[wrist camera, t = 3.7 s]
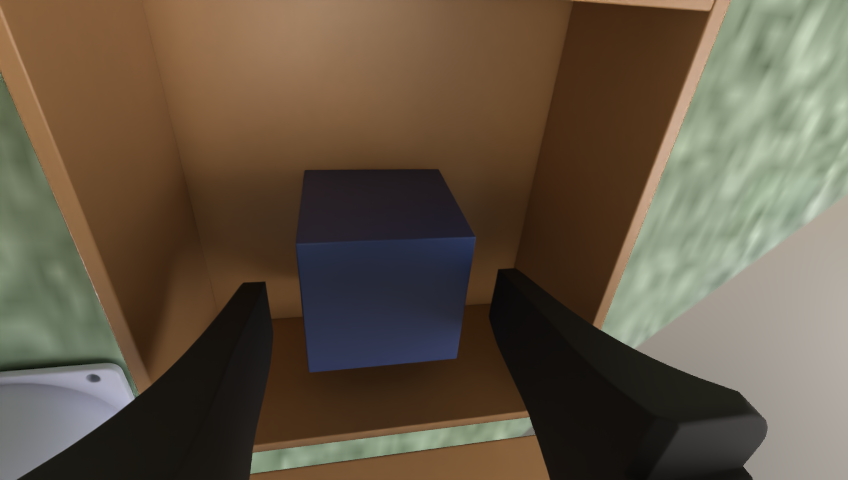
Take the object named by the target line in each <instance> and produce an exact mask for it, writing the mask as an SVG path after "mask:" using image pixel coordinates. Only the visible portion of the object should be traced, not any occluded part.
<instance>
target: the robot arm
mask: <svg viewBox="0 0 848 480" xmlns="http://www.w3.org/2000/svg"><path fill="white" fill-rule="evenodd" d="M489 320H490V323H491V327H492V330H493V334H494V337H495V340H496V343H497V345H498V348H499V350H500V352H501V354H502V357H503V359H504V361H505V363H506V365H507V368H508V370H509V372H510V374H511V376H512V378H513V380H514V383H515V385H516V387H517V389H518V391H519V393H520V396H521V398H522V400H523V402H524V404H525V407H526V409H527V412H528V414H529V417H530V420H531V423H532V425H533V428H534V430H535V434H536V437H537V440H538V443H539V446H540V449H541V452H542V456H543V459H544V462H545V465H546V468H547V471H548V475H549V478H550V480H753V479H752V477H751V475H749V473H748V472H747V471H746V469H745V468H744V467H743V465H744V464H745V463H746V461H747V460H748V459H749V458H750V457H751V455H752V454H753V453H754V452H755V451H756V449H757V448H758V447H759V446H760V445H761V443H762V442H763V440H764V439H765V437H766V433H767V428H768V427H767V423H766V420H765V419H764V418H763V417H762V416H761V415H760V414H759V413H758V412H757V410H756V409H755V408H754V407H753V406H752V405H751V404H750V403H749V402H748V401H747V400H746V399H745V398H744V397H743V396H742V395H741V394H740V393H739V392H738V391H735V390H732V389H729V388H726V387H724V386H721V385H718V384H715V383H712V382H709V381H706V380H703V379H700V378H698V377H695V376H693V375H690V374H688V373H685V372H683V371H680V370H678V369H676V368H673V367H671V366H668V365H666V364H664V363H662V362H660V361H657V360H655V359H653V358H651V357H649V356H647V355H645V354H643V353H641V352H639V351H637V350H635V349H633V348H631V347H629V346H627V345H625V344H624V343H622V342H620V341H618V340H617V339H615V338H613V337H611V336H610V335H608V334H606V333H605V332H603V331H601V330H600V329H598V328H596V327H595V326H593V325H592V324H590V323H589V322H587V321H586V320H584V319H583V318H581V317H580V316H578V315H577V314H576V313H574V312H573V311H571V310H570V309H569V308H567V307H566V306H565V305H563V304H562V303H560V302H559V301H558V300H557V299H555V298H554V297H553V296H551V295H550V294H549V293H547V292H546V291H545V290H544V289H542V288H541V287H540V286H539V285H537V284H536V283H535V282H534V281H532V280H531V279H530V278H528V277H527V276H526V275H525V274H523V273H522V272H521V271H519V270H518V269H516V268H508V269H498V272H497V277H496V282H495V287H494V292H493V297H492V302H491V307H490V312H489ZM272 345H273V326H272V320H271V314H270V307H269V301H268V295H267V288H266V282H265V281H262V282H243V283H242V284H241V285H240V286H239V288H238V289H237V290H236V292H235V293H234V294H233V296H232V297H231V299H230V300H229V301H228V303H227V304H226V305H225V306H224V308H223V309H222V310H221V312H220V313H219V314H218V315H217V317H216V318H215V319H214V320H213V321H212V323H211V324H210V325H209V326H208V327H207V329H206V330H205V331H204V332H203V333H202V334H201V336H200V337H199V338H198V339H197V340H196V341H195V342H194V343H193V344H192V345H191V346H190V348H189V349H188V350H187V351H186V352H185V353H184V354H183V355H182V356H181V357H180V358H179V359H178V360H177V361H176V362H175V363H174V364H173V365H172V366H171V367H170V368H169V369H168V370H167V371H166V372H165V373H164V374H163V375H162V376H161V377H160V378H158V379H157V380H156V381H155V382H154V383H153V384H152V385H151V386H150V387H148V388H147V389H146V390H145V391H144V392H142V393H141V394H140V395H139V396H138V397H136V398H135V397H134V395H133V393H132V391H131V388H130V386H129V384H128V382H127V379H126V377H125V375H124V373H123V370H122V369H121V368H120V366H118V365H116V364H113V363H100V364H88V365H76V366H64V367H53V368H41V369H29V370H17V371H5V372H0V480H249V478H250V470H251V461H252V452H253V446H254V440H255V434H256V430H257V425H258V421H259V416H260V411H261V407H262V402H263V398H264V393H265V389H266V384H267V379H268V375H269V370H270V365H271V356H272ZM94 374H95V375H94Z"/></svg>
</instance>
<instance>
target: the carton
mask: <svg viewBox="0 0 848 480" xmlns="http://www.w3.org/2000/svg"><path fill="white" fill-rule="evenodd" d="M730 2H731V0H0V72H1V74H2V76H3V79H4V81H5V83H6V85H7V88H8V90H9V92H10V95H11V97H12V99H13V102H14V104H15V106H16V109H17V111H18V113H19V116H20V118H21V120H22V123H23V125H24V127H25V130H26V132H27V134H28V137H29V139H30V141H31V144H32V146H33V148H34V151H35V153H36V155H37V158H38V160H39V162H40V164H41V167H42V169H43V171H44V174H45V176H46V178H47V181H48V183H49V185H50V188H51V190H52V192H53V195H54V197H55V199H56V202H57V204H58V206H59V209H60V211H61V213H62V216H63V218H64V220H65V223H66V225H67V227H68V230H69V232H70V234H71V237H72V239H73V241H74V243H75V246H76V248H77V250H78V253H79V255H80V257H81V260H82V262H83V264H84V267H85V269H86V271H87V274H88V276H89V278H90V281H91V283H92V285H93V288H94V290H95V292H96V295H97V297H98V299H99V302H100V304H101V306H102V309H103V311H104V313H105V316H106V318H107V320H108V322H109V325H110V327H111V329H112V332H113V334H114V336H115V339H116V341H117V343H118V346H119V348H120V350H121V353H122V355H123V357H124V360H125V362H126V364H127V367H128V369H129V371H130V374H131V376H132V378H133V381H134V383H135V385H136V388H137V390H138V392H139V395H140V394H141V393H142V392H144V391H145V390H146V389H147V388H148V387H150V386H151V385H152V384H153V383H154V382H155V381H156V380H157V379H158V378H160V377H161V376H162V375H163V374H164V373H165V372H166V371H167V370H168V369H169V368H170V367H171V366H172V365H173V364H174V363H175V362H176V361H177V360H178V359H179V358H180V357H181V356H182V355H183V354H184V353H185V352H186V351H187V350H188V349H189V348H190V346H191V345H192V344H193V343H194V342H195V341H196V340H197V339H198V338H199V337H200V336H201V334H202V333H203V332H204V331H205V330H206V329H207V327H208V326H209V325H210V324H211V323H212V321H213V320H214V319H215V318H216V317H217V315H218V314H219V313H220V312H221V310H222V309H223V308H224V306H225V305H226V304H227V303H228V301H229V300H230V299H231V297H232V296H233V294H234V293H235V292H236V290H237V289H238V288H239V286H240V285H241V284H242V283H243V282H262V281H265V282H266V288H267V295H268V301H269V307H270V314H271V320H272V326H273V345H272V356H271V365H270V370H269V375H268V379H267V384H266V389H265V393H264V398H263V402H262V407H261V411H260V416H259V421H258V425H257V430H256V434H255V440H254V446H253V452H252V453H254V452H262V451H270V450H277V449H285V448H293V447H301V446H309V445H316V444H324V443H332V442H340V441H347V440H355V439H363V438H371V437H379V436H386V435H394V434H402V433H410V432H417V431H425V430H433V429H441V428H449V427H456V426H464V425H472V424H480V423H488V422H495V421H503V420H511V419H519V418H526V417H529V414H528V412H527V409H526V407H525V404H524V402H523V400H522V398H521V396H520V393H519V391H518V389H517V387H516V385H515V383H514V380H513V378H512V376H511V374H510V372H509V370H508V368H507V365H506V363H505V361H504V359H503V357H502V354H501V352H500V350H499V348H498V345H497V343H496V340H495V337H494V334H493V330H492V327H491V323H490V320H489V312H490V307H491V302H492V297H493V292H494V287H495V282H496V277H497V272H498V269H508V268H516V269H518V270H519V271H521V272H522V273H523V274H525V275H526V276H527V277H528V278H530V279H531V280H532V281H534V282H535V283H536V284H537V285H539V286H540V287H541V288H542V289H544V290H545V291H546V292H547V293H549V294H550V295H551V296H553V297H554V298H555V299H557V300H558V301H559V302H560V303H562V304H563V305H565V306H566V307H567V308H569V309H570V310H571V311H573V312H574V313H576V314H577V315H578V316H580V317H581V318H583V319H584V320H586V321H587V322H589V323H590V324H592V325H593V326H595V327H596V328H598V329H600V330H601V328H602V325H603V323H604V320H605V317H606V315H607V312H608V310H609V307H610V305H611V302H612V300H613V297H614V295H615V292H616V290H617V287H618V285H619V282H620V280H621V277H622V274H623V272H624V269H625V267H626V264H627V262H628V259H629V257H630V254H631V252H632V249H633V247H634V244H635V242H636V239H637V237H638V234H639V232H640V229H641V226H642V224H643V221H644V219H645V216H646V214H647V211H648V209H649V206H650V204H651V201H652V199H653V196H654V194H655V191H656V189H657V186H658V184H659V181H660V178H661V176H662V173H663V171H664V168H665V166H666V163H667V161H668V158H669V156H670V153H671V151H672V148H673V146H674V143H675V141H676V138H677V136H678V133H679V130H680V128H681V125H682V123H683V120H684V118H685V115H686V113H687V110H688V108H689V105H690V103H691V100H692V98H693V95H694V93H695V90H696V88H697V85H698V82H699V80H700V77H701V75H702V72H703V70H704V67H705V65H706V62H707V60H708V57H709V55H710V52H711V50H712V47H713V45H714V42H715V39H716V37H717V34H718V32H719V29H720V27H721V24H722V22H723V19H724V17H725V14H726V12H727V9H728V7H729V4H730ZM387 169H439V171H440V172H441V174H442V176H443V178H444V180H445V182H446V183H447V185H448V187H449V189H450V191H451V193H452V194H453V196H454V198H455V200H456V202H457V203H458V205H459V207H460V209H461V211H462V213H463V214H464V216H465V218H466V220H467V222H468V224H469V225H470V227H471V229H472V231H473V233H474V235H475V236H476V239H475V246H474V252H473V258H472V264H471V271H470V277H469V283H468V289H467V296H466V302H465V308H464V314H463V321H462V327H461V333H460V339H459V346H458V352H457V358H456V359H446V360H435V361H425V362H414V363H404V364H393V365H383V366H373V367H362V368H352V369H341V370H331V371H321V372H309V370H308V361H307V351H306V342H305V332H304V323H303V313H302V304H301V294H300V285H299V275H298V266H297V256H296V247H295V243H296V234H297V226H298V218H299V210H300V202H301V194H302V186H303V178H304V171H305V170H387Z"/></svg>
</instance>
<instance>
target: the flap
mask: <svg viewBox="0 0 848 480" xmlns="http://www.w3.org/2000/svg"><path fill="white" fill-rule="evenodd" d="M249 480H550V478H549V475H548V471H547V468H546V465H545V462H544V459H543V456H542V452H541V449H540V446H539V443H538V440H537V437H536V435H530V436H523V437H515V438H508V439H501V440H493V441H486V442H479V443H472V444H464V445H457V446H450V447H443V448H435V449H428V450H421V451H414V452H406V453H399V454H392V455H384V456H377V457H370V458H363V459H355V460H348V461H341V462H334V463H326V464H319V465H312V466H304V467H297V468H290V469H283V470H275V471H268V472H261V473H254V474H250V478H249Z"/></svg>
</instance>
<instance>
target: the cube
mask: <svg viewBox="0 0 848 480" xmlns="http://www.w3.org/2000/svg"><path fill="white" fill-rule="evenodd" d="M475 239H476V236H475V235H474V233H473V231H472V229H471V227H470V225H469V224H468V222H467V220H466V218H465V216H464V214H463V213H462V211H461V209H460V207H459V205H458V203H457V202H456V200H455V198H454V196H453V194H452V193H451V191H450V189H449V187H448V185H447V183H446V182H445V180H444V178H443V176H442V174H441V172H440V171H439V169H387V170H305V171H304V178H303V186H302V194H301V202H300V210H299V218H298V226H297V234H296V243H295V247H296V256H297V266H298V275H299V285H300V294H301V304H302V313H303V323H304V332H305V342H306V351H307V361H308V370H309V372H321V371H331V370H341V369H352V368H362V367H373V366H383V365H393V364H404V363H414V362H425V361H435V360H446V359H456V358H457V352H458V346H459V339H460V333H461V327H462V321H463V314H464V308H465V302H466V296H467V289H468V283H469V277H470V271H471V264H472V258H473V252H474V246H475Z"/></svg>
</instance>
